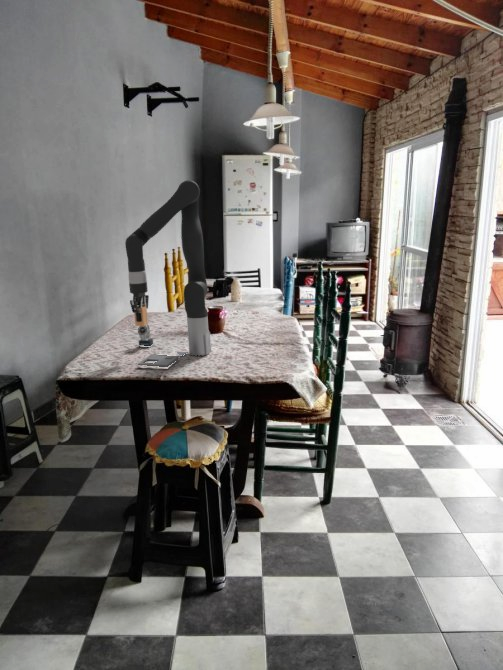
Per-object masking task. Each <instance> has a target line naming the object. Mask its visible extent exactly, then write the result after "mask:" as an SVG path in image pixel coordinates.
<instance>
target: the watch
mask: <svg viewBox="0 0 503 670" xmlns="http://www.w3.org/2000/svg"><path fill="white" fill-rule="evenodd" d="M150 329H151V328H150V325H149V323H148V324H147V325H145V326H138V329H137V334H138V336H139V338H140V340H138V346H139V345H144V346H151V345H152V344H153V345H154V339H153V338H151V337H150V336H151V330H150Z"/></svg>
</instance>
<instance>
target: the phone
mask: <svg viewBox="0 0 503 670" xmlns="http://www.w3.org/2000/svg"><path fill="white" fill-rule="evenodd" d="M176 352H177V353H178V354H179V355H182V356H183V355H184V354H186V353H188V354H189V351H176ZM186 355H187V354H186Z"/></svg>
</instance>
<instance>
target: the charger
mask: <svg viewBox="0 0 503 670" xmlns="http://www.w3.org/2000/svg"><path fill="white" fill-rule="evenodd" d="M138 309H139V308H138ZM134 310H135V308H134ZM141 318H142V321H141V322H137V321H136V313H134V321H135V322H134V323H135V327H140V326H145V325H147V324H148V325H149V321H148V309H147V308H146V306H142V308H141Z"/></svg>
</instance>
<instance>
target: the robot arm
mask: <svg viewBox="0 0 503 670" xmlns="http://www.w3.org/2000/svg"><path fill="white" fill-rule="evenodd" d="M200 193H201V189H200V187H199V185H198V184H197V182H195V181H194V180H188V179H187V180H184V181H182V182H181V183H180V184H179V185H178V187H177V189H176V191H175V192H174V193H173V194H172V196H171V197H170V198H169V199H167V201H166V202H165V203H164V204H163V205H162V206H160V207H159V208H158V209H157V210H156V211H154V212H153V213H152V214H151V215H150V216H148V218H147V219H145V220H144V221H143V222H142V223H141V225H140V226H139V227H138V228H137V229H136V230H135V231H133V232H132V233H131V234H130V235H128V236H127V238H126V239H125V242H124V243H125V251H126V257H127V268H128V284H129V285H128V286H129V293H130V294H132V295H133V296H132V299H131V300H129V304H130V308H131V311H132V313H136V321H137V322H141V321H142V318H141V308H142V306H146V308H147V310H148V309H149V299H150V298H149V294H148V295H147V294H146V293H147V292H149V291H148V282H147V281H148V280H147V279H148V278H147V273H146V266H145V265H146V264H145V259H144V252H143V251H144V249H143V247H144V246H145V245H146V244H147V243H148V241H149V240H151V239H152V238H153V237H155V236H156V235H157V234H158V233H159V232H160V231H161V230H162V229H164V227H165V226H167V225H168V224H169V222H170V221H171V220H173V218H174V217H175V216H176V215H177V214H178V213H179V212H180V213H181V224H180V225H181V226H180V229H181V232H180V234H181V235H180V238H181V247H182V248H181V249H182V254H183V257H184V260H185V263H186V265H187V272H188V283H187V284H185V286H184V288H183V302H184V311H185V314H186V325H187V337H188V350H189V351H188V354H189V355H190V354H191V355H190V356H193V355H195V356H196V357H201V356H200V355H202V356H208V355H209V354H210V353H212V343H211V331H209V319H208V316H209V315H208V309H207V306H206V296H207V294H208V283H207V278H206V272H205V253H204V252H205V251H204V250H205V249H204V248H205V247H204V236H203V229H202V226H201V225H202V224H201V220H200V216H199V215H200V213H199V198H200ZM134 308H135V310H134ZM138 308H139V309H138ZM197 355H198V356H197ZM195 356H194V357H195Z"/></svg>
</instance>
